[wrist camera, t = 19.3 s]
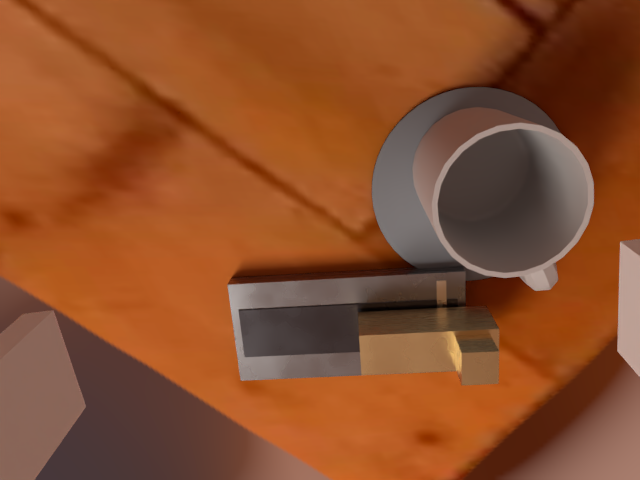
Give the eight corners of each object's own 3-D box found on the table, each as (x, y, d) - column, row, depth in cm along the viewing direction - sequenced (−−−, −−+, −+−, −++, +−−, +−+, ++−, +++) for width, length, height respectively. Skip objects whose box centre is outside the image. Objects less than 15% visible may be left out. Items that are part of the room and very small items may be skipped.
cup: (500, 81, 33) (554, 90, 24) (570, 227, 35) (642, 281, 26) (389, 145, 34) (403, 174, 25) (463, 280, 36) (499, 348, 28)
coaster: (366, 95, 33) (366, 95, 33) (575, 78, 33) (577, 79, 32) (376, 283, 37) (376, 285, 37) (564, 273, 36) (566, 275, 36)
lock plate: (231, 277, 37) (227, 285, 36) (461, 264, 36) (465, 271, 35) (243, 371, 39) (240, 381, 38) (462, 361, 38) (465, 371, 37)
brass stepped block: (357, 312, 36) (359, 352, 31) (486, 305, 35) (508, 346, 30) (360, 348, 37) (362, 394, 32) (485, 342, 36) (507, 387, 31)
